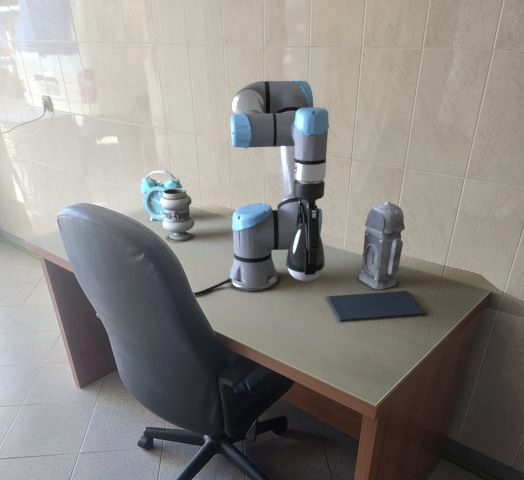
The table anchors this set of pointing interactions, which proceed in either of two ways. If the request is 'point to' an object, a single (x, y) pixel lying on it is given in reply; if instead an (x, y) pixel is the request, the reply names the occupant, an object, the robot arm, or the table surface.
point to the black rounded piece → (303, 256)
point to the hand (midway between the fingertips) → (305, 265)
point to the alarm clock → (156, 194)
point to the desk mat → (375, 306)
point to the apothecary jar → (177, 214)
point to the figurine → (382, 245)
